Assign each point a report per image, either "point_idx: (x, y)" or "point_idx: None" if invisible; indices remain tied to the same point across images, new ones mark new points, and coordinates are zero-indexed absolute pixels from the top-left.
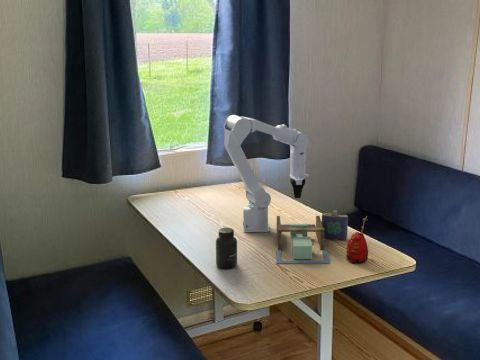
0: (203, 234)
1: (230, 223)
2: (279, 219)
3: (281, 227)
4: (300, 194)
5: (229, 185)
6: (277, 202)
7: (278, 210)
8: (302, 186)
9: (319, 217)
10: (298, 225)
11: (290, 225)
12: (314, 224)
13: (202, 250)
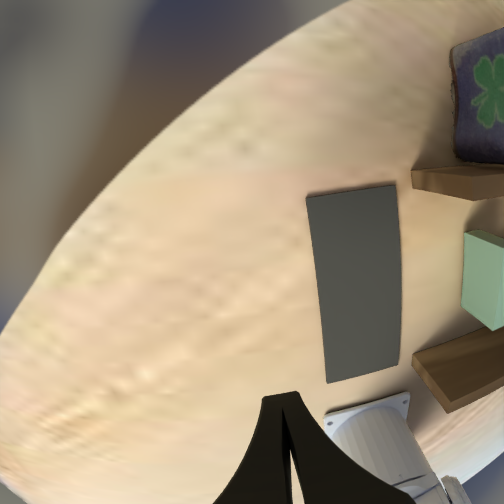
0: None
1: None
2: (489, 386)
3: (366, 362)
4: (311, 416)
5: (6, 480)
6: (35, 397)
7: (118, 399)
8: (373, 479)
9: (495, 178)
10: None
11: (499, 325)
12: (309, 201)
13: (479, 458)
